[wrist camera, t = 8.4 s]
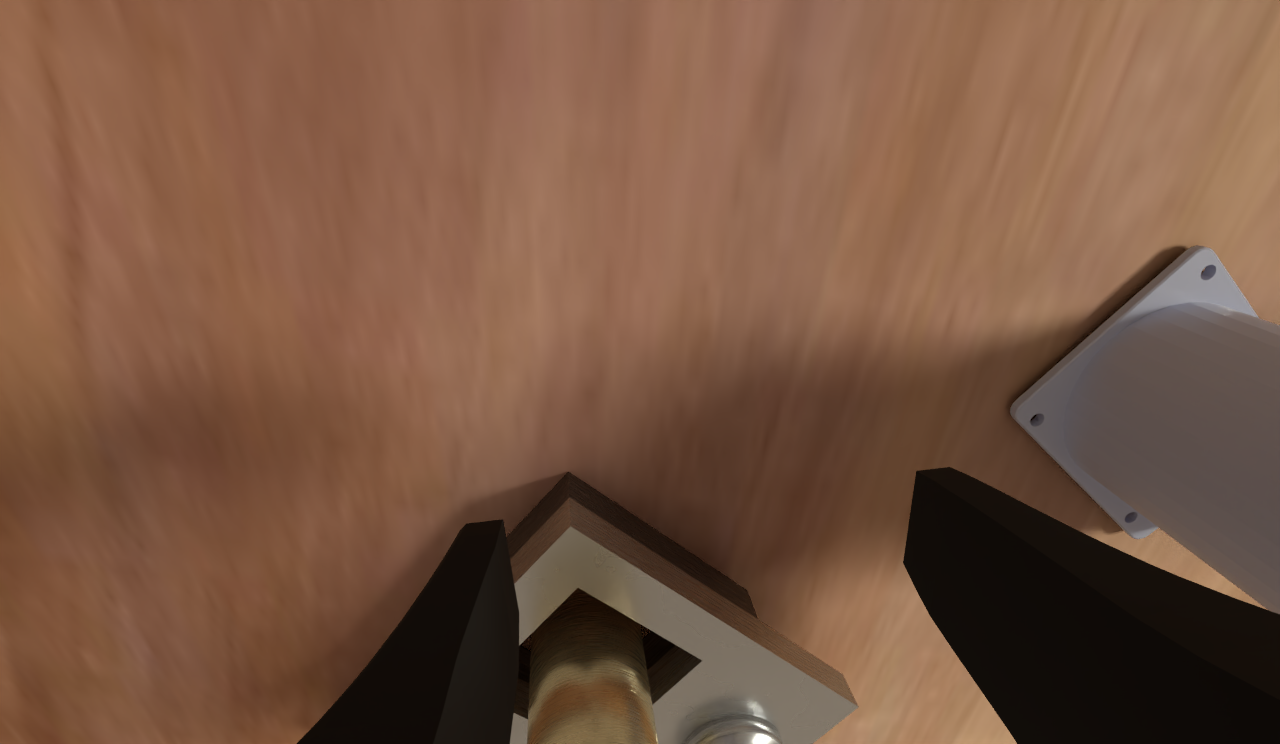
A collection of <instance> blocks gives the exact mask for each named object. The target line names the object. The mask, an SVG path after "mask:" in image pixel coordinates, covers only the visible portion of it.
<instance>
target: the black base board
mask: <svg viewBox="0 0 1280 744" xmlns="http://www.w3.org/2000/svg"><path fill="white" fill-rule="evenodd" d="M569 497H570V498H571V499H573V500H574V501H576V502H577V503H579V504H580V505H582V506H584V507H585V508H587V509H588V510H590V511H591V512H593V513H594V514H596V515H597V516H599V517H601V518H602V519H604V520H605V521H607V522H608V523H610V524H611V525H613V526H614V527H616V528H618V529H619V530H621V531H622V532H624V533H625V534H627V535H628V536H630V537H631V538H633V539H635V540H636V541H638V542H639V543H641V544H642V545H644V546H645V547H647V548H648V549H650V550H652V551H653V552H655V553H656V554H658V555H659V556H661V557H662V558H664V559H666V560H667V561H669V562H670V563H672V564H673V565H675V566H676V567H678V568H679V569H681V570H683V571H684V572H686V573H687V574H689V575H690V576H692V577H693V578H695V579H696V580H698V581H700V582H701V583H703V584H704V585H706V586H707V587H709V588H710V589H712V590H713V591H715V592H717V593H718V594H720V595H721V596H723V597H724V598H726V599H727V600H729V601H730V602H732V603H734V604H735V605H737V606H738V607H740V608H741V609H743V610H744V611H746V612H747V613H749V614H751V615H752V616H754V617H755V618H757V615H756V613H755V610H754V607H753V605H752V602H751V599H750V597H749V594H748V591H747V590H746V589H744V588H743V587H741V586H740V585H738V584H737V583H735V582H734V581H732V580H731V579H729V578H728V577H726V576H725V575H723V574H722V573H720V572H719V571H717V570H715V569H714V568H712V567H711V566H709V565H708V564H706V563H705V562H703V561H702V560H700V559H699V558H697V557H696V556H694V555H693V554H691V553H690V552H688V551H687V550H685V549H684V548H682V547H681V546H679V545H678V544H676V543H675V542H673V541H672V540H670V539H669V538H667V537H666V536H664V535H663V534H661V533H660V532H658V531H657V530H655V529H654V528H652V527H651V526H649V525H648V524H646V523H645V522H643V521H642V520H640V519H639V518H637V517H636V516H634V515H633V514H631V513H630V512H628V511H627V510H625V509H624V508H622V507H621V506H619V505H618V504H616V503H615V502H613V501H612V500H610V499H609V498H607V497H605V496H604V495H602V494H601V493H599V492H598V491H596V490H595V489H593V488H592V487H590V486H589V485H587V484H586V483H584V482H583V481H581V480H580V479H578V478H577V477H575V476H574V475H572V474H571V473H569V472H568V473H567V474H566V475H565V476H564V477H563V478H562V479H561V480H560V481H559V482H558V483H557V485H556V486H555V487H554V488H553V489H552V490H551V491H550V492H549V493H548V494H547V495H546V496H545V497H544V498H543V499H542V500H541V502H540V503H539V504H538V505H537V506H536V507H535V508H534V509H533V510H532V511H531V512H530V513H529V514H528V515H527V516H526V517H525V518H524V520H523V521H522V522H521V523H520V524H519V525H518V526H517V527H516V528H515V529H514V530H513V531H512V532H511V533H510V534H509V535H508V537H507V538H506V539H507V545H508V551H509V556H510V559H511V558H512V557H513V556H514V555H515V554H516V553H517V552H518V551H519V550H520V548H521V547H522V546H523V545H524V544H525V543H526V542H527V541H528V540H529V539H530V538H531V537H532V536H533V535H534V534H535V533H536V532H537V531H538V530H539V529H540V528H541V526H542V525H543V524H544V523H545V522H546V521H547V520H548V519H549V518H550V517H551V516H552V515H553V514H554V513H555V512H556V511H557V510H558V509H559V508H560V507H561V506H562V505H563V503H564V502H565V501H566V500H567V499H568V498H569ZM757 619H758V618H757ZM642 641H643V647H644V654H645V660H646V667H647V670H648V669H649V668H651V667H652V666H653V665H654V664H655V663H656V662H657V661H658V660H659V659H660V658H662V657H663V656H664V655H665V654H666V653H667V652H668V651H669V650H670V649H671V648H673V647H674V646H675V644H673V643H672V642H670V641H668V640H666V639H665V638H663V637H661V636H660V635H658V634H656V633H655V632H653V631H651V632H650V633H649V634H648V635H647V636H646V637H645V638H644V639H643V640H642ZM530 657H531V652H530V651H529V650H527V649H525V648H523V647H521V646H519V672H518V678H519V679H521V680H523V681H525V682H527V683H529V682H530Z"/></svg>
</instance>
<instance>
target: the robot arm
mask: <svg viewBox="0 0 1280 744" xmlns="http://www.w3.org/2000/svg"><path fill="white" fill-rule="evenodd" d="M1204 268H1205V270H1204V272H1203V273H1202V274H1201V272H1202V270H1203V269H1204ZM1010 414H1011V416H1012V418H1013V419H1014V420H1015V421H1016V422H1017V423H1018V424H1019V425H1020V426H1021V427H1022V428H1023V429H1024V430H1025V431H1026V432H1027V433H1028V434H1029V435H1030V436H1031V437H1032V438H1033V439H1034V440H1035V441H1036V442H1037V443H1038V444H1039V445H1040V446H1041V447H1042V448H1043V449H1044V450H1045V451H1046V452H1047V453H1048V454H1049V455H1050V456H1051V457H1052V458H1053V459H1054V460H1055V461H1056V462H1057V463H1058V464H1059V465H1060V466H1061V467H1062V468H1063V469H1064V470H1065V471H1066V473H1067V474H1068V475H1069V476H1070V477H1071V478H1072V479H1073V480H1074V481H1075V482H1076V483H1077V484H1078V485H1079V486H1080V487H1081V488H1082V489H1083V490H1084V491H1085V492H1086V493H1087V494H1088V495H1089V496H1090V497H1091V498H1092V499H1093V500H1094V501H1095V502H1096V503H1097V504H1098V505H1099V506H1100V507H1101V508H1102V509H1103V510H1104V511H1105V512H1106V513H1107V514H1108V515H1109V516H1110V517H1111V518H1112V519H1113V520H1114V521H1115V522H1116V523H1117V524H1118V525H1119V526H1120V527H1121V528H1122V529H1123V530H1124V531H1125V532H1126V533H1127V534H1128V535H1129V536H1131V537H1132V538H1134V539H1141V538H1145V537H1146V536H1148V535H1149V534H1151V533H1152V532H1153V531H1155V530H1156V529H1157V528H1158V527H1159V528H1160V529H1161V530H1163V531H1164V532H1165V533H1167V534H1168V535H1169V536H1171V537H1172V538H1173V539H1175V540H1176V541H1177V542H1179V543H1180V544H1181V545H1183V546H1184V547H1185V548H1186V549H1188V550H1189V551H1190V552H1192V553H1193V554H1194V555H1196V556H1197V557H1198V558H1200V559H1201V560H1202V561H1204V562H1205V563H1206V564H1208V565H1209V566H1210V567H1212V568H1213V569H1214V570H1216V571H1217V572H1218V573H1220V574H1221V575H1222V576H1224V577H1225V578H1226V579H1228V580H1229V581H1230V582H1232V583H1233V584H1234V585H1236V586H1237V587H1238V588H1240V589H1241V590H1242V591H1244V592H1245V593H1246V594H1248V595H1249V596H1250V597H1252V598H1253V599H1254V600H1256V601H1257V602H1258V603H1260V604H1261V605H1262V606H1264V607H1265V608H1266V609H1268V610H1266V609H1263V608H1260V607H1257V606H1255V605H1252V604H1249V603H1246V602H1243V601H1241V600H1238V599H1235V598H1233V597H1230V596H1227V595H1225V594H1222V593H1220V592H1217V591H1215V590H1212V589H1210V588H1207V587H1204V586H1202V585H1199V584H1197V583H1194V582H1192V581H1189V580H1186V579H1184V578H1181V577H1179V576H1177V575H1174V574H1172V573H1169V572H1167V571H1165V570H1162V569H1160V568H1158V567H1155V566H1153V565H1151V564H1148V563H1146V562H1144V561H1142V560H1140V559H1137V558H1135V557H1133V556H1131V555H1129V554H1126V553H1124V552H1122V551H1120V550H1118V549H1115V548H1113V547H1111V546H1109V545H1107V544H1105V543H1102V542H1100V541H1098V540H1096V539H1094V538H1092V537H1090V536H1088V535H1086V534H1084V533H1082V532H1080V531H1078V530H1076V529H1074V528H1072V527H1070V526H1067V525H1065V524H1063V523H1062V522H1060V521H1058V520H1056V519H1054V518H1052V517H1050V516H1048V515H1046V514H1044V513H1042V512H1040V511H1038V510H1036V509H1034V508H1032V507H1030V506H1028V505H1026V504H1024V503H1022V502H1020V501H1018V500H1016V499H1014V498H1013V497H1011V496H1009V495H1007V494H1005V493H1003V492H1001V491H999V490H997V489H995V488H993V487H991V486H989V485H987V484H985V483H983V482H981V481H979V480H977V479H975V478H973V477H971V476H969V475H966V474H964V473H962V472H960V471H957V470H955V469H953V468H950V467H947V468H938V469H930V470H921V471H916V477H915V484H914V491H913V498H912V505H911V512H910V519H909V526H908V533H907V540H906V547H905V554H904V561H903V563H904V565H905V568H906V570H907V572H908V574H909V576H910V578H911V580H912V582H913V584H914V586H915V588H916V590H917V592H918V594H919V596H920V598H921V600H922V602H923V603H924V605H925V607H926V609H927V611H928V613H929V615H930V616H931V618H932V619H933V621H934V622H935V624H936V625H937V627H938V628H939V630H940V631H941V633H942V634H943V636H944V637H945V639H946V640H947V642H948V643H949V645H950V646H951V648H952V649H953V650H954V652H955V653H956V655H957V656H958V658H959V659H960V661H961V662H962V664H963V665H964V666H965V668H966V669H967V671H968V672H969V674H970V675H971V677H972V678H973V679H974V681H975V682H976V684H977V685H978V687H979V688H980V690H981V691H982V692H983V694H984V695H985V697H986V698H987V700H988V701H989V703H990V704H991V705H992V707H993V708H994V710H995V711H996V713H997V714H998V716H999V717H1000V718H1001V720H1002V721H1003V723H1004V724H1005V726H1006V727H1007V729H1008V730H1009V732H1010V733H1011V735H1012V736H1013V738H1014V739H1015V741H1016V742H1017V744H1280V325H1277V324H1274V323H1271V322H1268V321H1266V320H1263V319H1260V318H1259V317H1258V316H1257V314H1256V313H1255V311H1254V310H1253V308H1252V307H1251V305H1250V304H1249V302H1248V301H1247V299H1246V298H1245V296H1244V295H1243V294H1242V292H1241V291H1240V289H1239V288H1238V286H1237V285H1236V283H1235V282H1234V280H1233V279H1232V277H1231V276H1230V274H1229V273H1228V271H1227V270H1226V268H1225V267H1224V265H1223V264H1222V262H1221V261H1220V260H1219V258H1218V257H1217V255H1216V254H1215V252H1214V251H1213V250H1212V249H1211V248H1208V247H1204V246H1198V245H1196V246H1193V247H1190V248H1189V249H1187V250H1186V251H1185V252H1184V253H1182V254H1181V255H1180V256H1179V257H1178V258H1177V259H1176V260H1174V261H1173V262H1172V263H1171V264H1170V265H1169V266H1168V267H1167V268H1165V269H1164V270H1163V271H1162V272H1161V273H1160V274H1159V275H1157V276H1156V277H1155V278H1154V279H1153V280H1152V281H1151V282H1149V283H1148V284H1147V285H1146V286H1145V287H1144V288H1143V289H1142V290H1140V291H1139V292H1138V293H1137V294H1136V295H1135V296H1134V297H1132V298H1131V299H1130V300H1129V301H1128V302H1127V303H1126V304H1124V305H1123V306H1122V307H1121V308H1120V309H1119V310H1118V311H1117V312H1115V313H1114V314H1113V315H1112V316H1111V317H1110V318H1109V319H1107V320H1106V321H1105V322H1104V323H1103V324H1102V325H1101V326H1099V327H1098V328H1097V329H1096V330H1095V331H1094V332H1093V333H1091V334H1090V335H1089V336H1088V337H1087V338H1086V339H1085V340H1084V341H1082V342H1081V343H1080V344H1079V345H1078V346H1077V347H1076V348H1074V349H1073V350H1072V351H1071V352H1070V353H1069V354H1068V355H1066V356H1065V357H1064V358H1063V359H1062V360H1061V361H1060V362H1059V363H1057V364H1056V365H1055V366H1054V367H1053V368H1052V369H1051V370H1049V371H1048V372H1047V373H1046V374H1045V375H1044V376H1043V377H1041V378H1040V379H1039V380H1038V381H1037V382H1036V383H1035V384H1034V385H1032V386H1031V387H1030V388H1029V389H1028V390H1027V391H1026V392H1024V393H1023V394H1022V395H1021V396H1020V397H1019V398H1018V399H1016V400H1015V402H1014V403H1013V404H1012V406H1011V408H1010ZM1036 414H1037V415H1036ZM1034 415H1036V417H1035V418H1034V419H1033V420H1031V418H1032V417H1033V416H1034ZM1030 420H1031V421H1030ZM518 672H519V608H518V602H517V596H516V591H515V585H514V579H513V574H512V568H511V562H510V556H509V551H508V545H507V539H506V533H505V528H504V522H503V520H494V521H486V522H477V523H469V524H466V525H465V526H464V527H463V528H462V529H461V530H460V532H459V533H458V535H457V537H456V538H455V540H454V542H453V543H452V545H451V547H450V548H449V550H448V552H447V553H446V555H445V557H444V558H443V560H442V561H441V563H440V565H439V566H438V568H437V569H436V571H435V572H434V574H433V575H432V577H431V578H430V580H429V582H428V583H427V585H426V586H425V587H424V589H423V590H422V592H421V593H420V595H419V596H418V598H417V599H416V600H415V602H414V603H413V605H412V606H411V608H410V609H409V611H408V612H407V613H406V615H405V616H404V618H403V619H402V620H401V622H400V623H399V625H398V626H397V627H396V629H395V630H394V631H393V632H392V634H391V635H390V636H389V638H388V639H387V640H386V641H385V643H384V644H383V645H382V647H381V648H380V649H379V651H378V652H377V653H376V654H375V656H374V657H373V658H372V660H371V661H370V662H369V663H368V665H367V666H366V667H365V668H364V670H363V671H362V672H361V673H360V674H359V676H358V677H357V678H356V679H355V680H354V682H353V683H352V684H351V685H350V686H349V687H348V689H347V690H346V691H345V692H344V693H343V694H342V696H341V697H340V698H339V699H338V700H337V701H336V702H335V703H334V704H333V706H332V707H331V708H330V709H329V710H328V711H327V712H326V713H325V714H324V716H323V717H322V718H321V719H320V720H319V721H318V722H317V723H316V724H315V725H314V726H313V727H312V728H311V729H310V730H309V731H308V733H307V734H306V735H305V736H304V737H303V738H302V739H301V740H300V741H299V742H298V743H297V744H510V737H511V729H512V722H513V713H514V705H515V697H516V689H517V680H518Z"/></svg>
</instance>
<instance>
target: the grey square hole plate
mask: <svg viewBox="0 0 1280 744" xmlns="http://www.w3.org/2000/svg"><path fill="white" fill-rule="evenodd" d="M510 562H511V568H512V574H513V579H514V585H515V591H516V596H517V602H518V608H519V645H520V644H521V643H522V642H523V641H524V640H525V639H526V638H527V637H528V636H529V635H530V634H531V633H533V632H534V631H535V630H536V629H537V628H538V627H539V626H540V625H541V624H542V623H543V622H544V621H545V620H546V619H547V618H548V617H549V616H550V615H551V614H552V613H553V612H554V611H555V610H556V609H557V608H558V607H559V606H560V605H561V604H562V603H563V602H564V601H565V600H566V599H567V598H568V597H569V596H570V595H571V594H572V593H573V592H574V591H575V590H576V589H577V588H580V589H581V590H583V591H585V592H586V593H588V594H590V595H592V596H593V597H595V598H597V599H598V600H600V601H602V602H603V603H605V604H607V605H609V606H610V607H612V608H614V609H615V610H617V611H619V612H621V613H622V614H624V615H626V616H627V617H629V618H631V619H632V620H634V621H636V622H638V623H639V624H641V625H643V626H644V627H646V628H648V629H649V630H651V631H653V632H655V633H656V634H658V635H660V636H661V637H663V638H665V639H666V640H668V641H670V642H672V643H673V644H675V646H674V647H673V648H671V649H670V650H669V651H668V652H667V653H666V654H665V655H664V656H663V657H662V658H660V659H659V660H658V661H657V662H656V663H655V664H654V665H653V666H652V667H651V668H649V669H648V670H647V673H648V680H649V686H650V693H651V699H652V706H653V712H654V719H655V725H656V732H657V738H658V744H813V743H814V742H815V741H817V740H818V739H819V738H820V737H822V736H823V735H824V734H825V733H827V732H828V731H829V730H830V729H832V728H833V727H834V726H835V725H837V724H838V723H839V722H840V721H842V720H843V719H844V718H845V717H847V716H848V715H849V714H850V713H852V712H853V711H854V710H855V709H857V708H858V705H857V703H856V700H855V698H854V696H853V694H852V692H851V690H850V688H849V686H848V684H847V682H846V680H845V678H844V675H843V674H842V673H840V672H839V671H837V670H836V669H834V668H833V667H831V666H829V665H828V664H826V663H825V662H823V661H822V660H820V659H819V658H817V657H816V656H814V655H812V654H811V653H809V652H808V651H806V650H805V649H803V648H802V647H800V646H799V645H797V644H795V643H794V642H792V641H791V640H789V639H788V638H786V637H785V636H783V635H782V634H780V633H778V632H777V631H775V630H774V629H772V628H771V627H769V626H768V625H766V624H765V623H763V622H761V621H760V620H758V619H757V618H755V617H754V616H752V615H751V614H749V613H747V612H746V611H744V610H743V609H741V608H740V607H738V606H737V605H735V604H734V603H732V602H730V601H729V600H727V599H726V598H724V597H723V596H721V595H720V594H718V593H717V592H715V591H713V590H712V589H710V588H709V587H707V586H706V585H704V584H703V583H701V582H700V581H698V580H696V579H695V578H693V577H692V576H690V575H689V574H687V573H686V572H684V571H683V570H681V569H679V568H678V567H676V566H675V565H673V564H672V563H670V562H669V561H667V560H666V559H664V558H662V557H661V556H659V555H658V554H656V553H655V552H653V551H652V550H650V549H648V548H647V547H645V546H644V545H642V544H641V543H639V542H638V541H636V540H635V539H633V538H631V537H630V536H628V535H627V534H625V533H624V532H622V531H621V530H619V529H618V528H616V527H614V526H613V525H611V524H610V523H608V522H607V521H605V520H604V519H602V518H601V517H599V516H597V515H596V514H594V513H593V512H591V511H590V510H588V509H587V508H585V507H584V506H582V505H580V504H579V503H577V502H576V501H574V500H573V499H571V498H570V497H569V498H568V499H567V500H566V501H565V502H564V503H563V505H562V506H561V507H560V508H559V509H558V510H557V511H556V512H555V513H554V514H553V515H552V516H551V517H550V518H549V519H548V520H547V521H546V522H545V523H544V524H543V525H542V526H541V528H540V529H539V530H538V531H537V532H536V533H535V534H534V535H533V536H532V537H531V538H530V539H529V540H528V541H527V542H526V543H525V544H524V545H523V546H522V547H521V548H520V550H519V551H518V552H517V553H516V554H515V555H514V556H513V557H512V558H511V559H510ZM528 707H529V683H527V682H525V681H523V680H521V679H519V678H518V680H517V689H516V697H515V705H514V713H513V722H512V729H511V737H510V744H527V732H528Z"/></svg>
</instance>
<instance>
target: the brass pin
mask: <svg viewBox="0 0 1280 744" xmlns="http://www.w3.org/2000/svg"><path fill="white" fill-rule="evenodd" d="M527 744H658V738H657V732H656V725H655V719H654V712H653V706H652V699H651V693H650V686H649V680H648V673H647V667H646V660H645V654H644V647H643V641H642V635H641V628H640V624H639V623H638V622H636V621H634V620H632V619H631V618H629V617H627V616H626V615H624V614H622V613H621V612H619V611H617V610H615V609H614V608H612V607H610V606H609V605H607V604H605V603H603V602H602V601H600V600H598V599H597V598H595V597H593V596H592V595H590V594H588V593H586V592H585V591H583V590H581V589H580V588H577V589H576V590H575V591H574V592H573V593H572V594H571V595H570V596H569V597H568V598H567V599H566V600H565V601H564V602H563V603H562V604H561V605H560V606H559V607H558V608H557V609H556V610H555V611H554V612H553V613H552V614H551V615H550V616H549V617H548V618H547V619H546V620H545V621H544V622H543V623H542V624H541V625H540V626H539V627H538V628H537V629H536V630H535V631H534V632H533V633H531V657H530V682H529V707H528V732H527Z"/></svg>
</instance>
